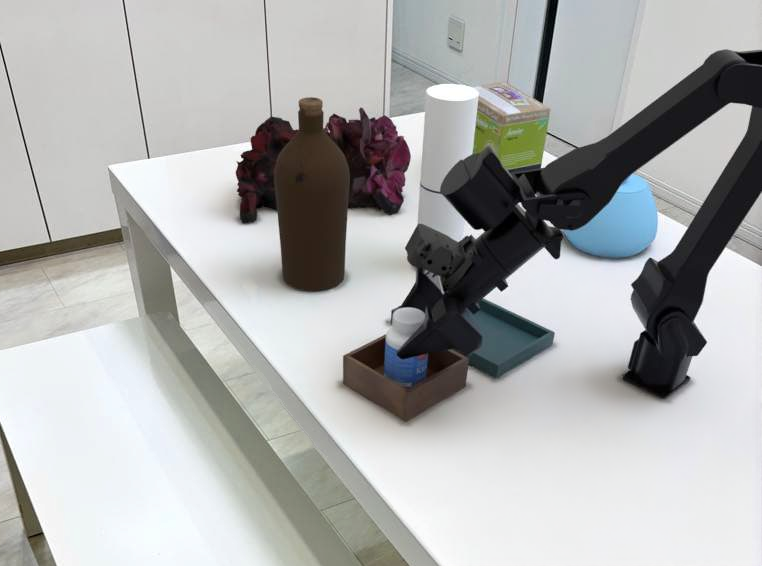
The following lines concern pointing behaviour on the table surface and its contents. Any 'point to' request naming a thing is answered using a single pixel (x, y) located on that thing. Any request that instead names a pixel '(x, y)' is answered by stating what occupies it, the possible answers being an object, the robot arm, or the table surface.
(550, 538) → the table surface
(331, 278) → the olive oil
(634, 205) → the sugar bowl
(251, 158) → the flower arrangement
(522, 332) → the tray
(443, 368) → the open box
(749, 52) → the robot arm
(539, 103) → the tea box
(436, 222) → the cylindrical container
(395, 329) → the pill bottle
